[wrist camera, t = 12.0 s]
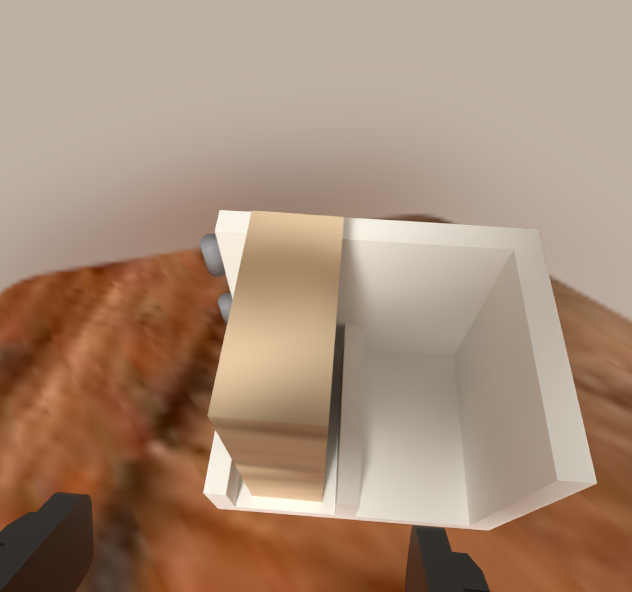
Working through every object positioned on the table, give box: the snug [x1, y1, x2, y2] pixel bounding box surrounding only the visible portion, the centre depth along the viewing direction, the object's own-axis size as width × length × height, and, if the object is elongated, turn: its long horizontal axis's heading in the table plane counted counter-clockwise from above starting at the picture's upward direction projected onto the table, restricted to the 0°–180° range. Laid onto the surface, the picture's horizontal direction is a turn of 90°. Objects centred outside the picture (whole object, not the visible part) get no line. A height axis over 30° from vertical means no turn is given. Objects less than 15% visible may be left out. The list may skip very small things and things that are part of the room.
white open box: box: [200, 210, 597, 530], centre depth 23 cm, size 10×15×11 cm
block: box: [208, 211, 344, 502], centre depth 21 cm, size 8×4×12 cm, turn 175°
